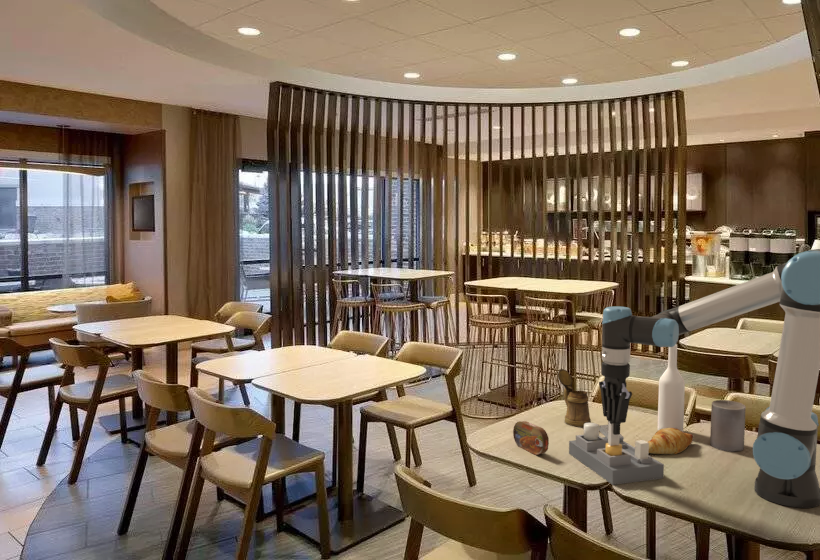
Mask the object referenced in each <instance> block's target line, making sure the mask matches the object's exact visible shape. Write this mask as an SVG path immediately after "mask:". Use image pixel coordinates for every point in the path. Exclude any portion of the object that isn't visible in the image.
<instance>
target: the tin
mask: <svg viewBox="0 0 820 560" xmlns="http://www.w3.org/2000/svg"><path fill="white" fill-rule="evenodd" d="M512 434H513V440H514V442H515V444H516V446H517V447H519V448H520V449H521V450H525V451H527V452H529V453H530V454H531V455H532V454H533V455H536V456H538V455H543V454H545V453H547V451H548V449H549V444H550V443H549V434H548V433H547V431H546V429H544V428H543V427H541V426H538V425H536V424H534V423H532V422H530V421H527V420H524V421H517V422H515V424H514V426H513V430H512Z"/></svg>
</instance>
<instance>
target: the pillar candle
mask: <svg viewBox="0 0 820 560" xmlns="http://www.w3.org/2000/svg"><path fill="white" fill-rule="evenodd" d="M745 426H746V405H745V404H743V403H742V402H738V401H734V400H730V399H729V400H727V399H725V400H724V399H719V400H714V401H712V402H711V416H710V438H709V439H710V442H709V444H710V446H711V447H712V448H714V449H717V450H720V451H723V452H740V451H743V450H744V449H745V435H746V433H745V431H746V430H745V429H746V427H745Z"/></svg>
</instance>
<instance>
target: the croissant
mask: <svg viewBox="0 0 820 560" xmlns="http://www.w3.org/2000/svg"><path fill="white" fill-rule="evenodd" d="M693 438H694V435H693V434H691V433H689V432H688V433H687V432H684V431H683V432H682V431H680V430H679V429H675V428H664V429H660V430H658V429H657V431H656V432H655V433H654V435H652V437H651V439H650V440H648V441H647V442H648V443H649V454H653V455H654V454H655V455H676V454H677V455H678V453H682V452H684V451H685V450H686V449H687V448H688V447H689V446H690V445H691V444H692V443H693Z"/></svg>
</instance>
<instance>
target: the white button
mask: <svg viewBox="0 0 820 560" xmlns="http://www.w3.org/2000/svg"><path fill="white" fill-rule="evenodd" d="M599 428H600V424H598V423H595V422H591V423H585V424H584V427H583V435H584V439H586V440H592V441H595V440H598V439H599V436H600V431H599Z"/></svg>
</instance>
